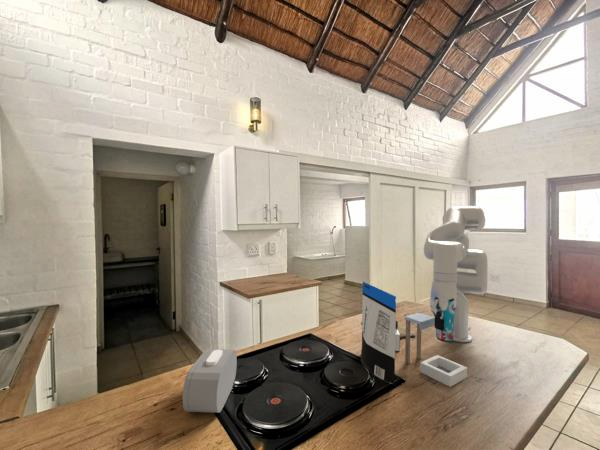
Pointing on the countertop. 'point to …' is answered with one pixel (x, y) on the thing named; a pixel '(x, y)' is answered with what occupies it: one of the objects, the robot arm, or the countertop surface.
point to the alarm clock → (210, 381)
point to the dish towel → (403, 333)
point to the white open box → (436, 365)
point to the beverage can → (447, 324)
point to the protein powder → (378, 332)
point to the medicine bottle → (397, 338)
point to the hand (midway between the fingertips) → (444, 327)
